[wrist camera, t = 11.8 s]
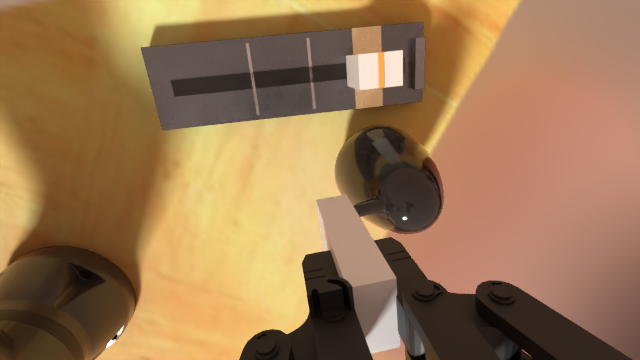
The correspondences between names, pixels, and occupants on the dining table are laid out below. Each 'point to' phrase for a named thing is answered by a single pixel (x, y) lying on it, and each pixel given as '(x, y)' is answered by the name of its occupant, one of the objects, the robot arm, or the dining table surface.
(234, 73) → the console
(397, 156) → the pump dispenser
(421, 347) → the robot arm
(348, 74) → the fader knob
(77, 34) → the dining table surface
